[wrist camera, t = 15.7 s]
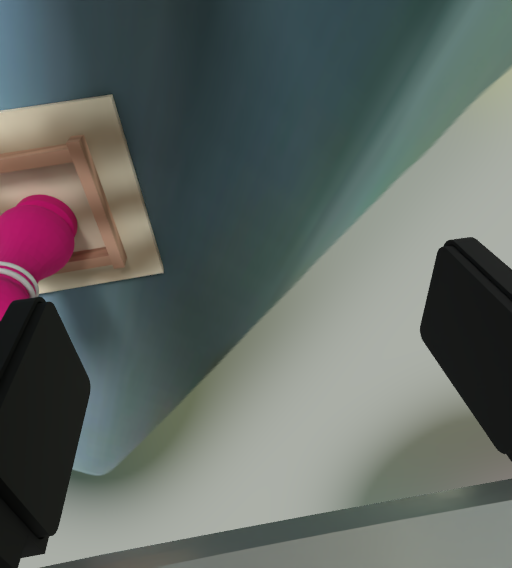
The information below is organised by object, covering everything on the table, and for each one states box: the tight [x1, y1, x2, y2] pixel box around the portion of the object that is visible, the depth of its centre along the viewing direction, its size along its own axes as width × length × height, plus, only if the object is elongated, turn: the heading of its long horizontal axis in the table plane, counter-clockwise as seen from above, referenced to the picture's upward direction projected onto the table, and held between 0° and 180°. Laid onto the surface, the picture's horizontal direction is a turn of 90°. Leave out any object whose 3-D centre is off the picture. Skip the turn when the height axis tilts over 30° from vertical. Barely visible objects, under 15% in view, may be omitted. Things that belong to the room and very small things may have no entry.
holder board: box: [0, 94, 164, 294], centre depth 43 cm, size 20×20×3 cm
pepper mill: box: [0, 194, 78, 321], centre depth 36 cm, size 7×7×20 cm
